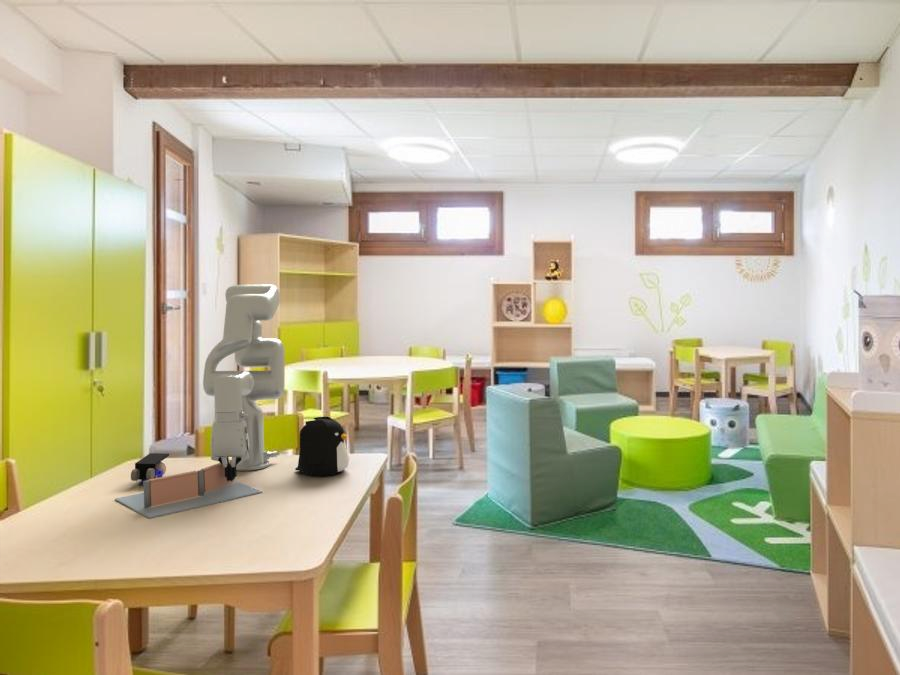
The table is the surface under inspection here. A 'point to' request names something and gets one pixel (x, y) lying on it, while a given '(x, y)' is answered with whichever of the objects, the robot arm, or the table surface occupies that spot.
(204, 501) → the card
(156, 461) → the black toy car
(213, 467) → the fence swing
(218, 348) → the robot arm
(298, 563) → the table surface
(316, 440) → the penguin
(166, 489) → the fence fixed
